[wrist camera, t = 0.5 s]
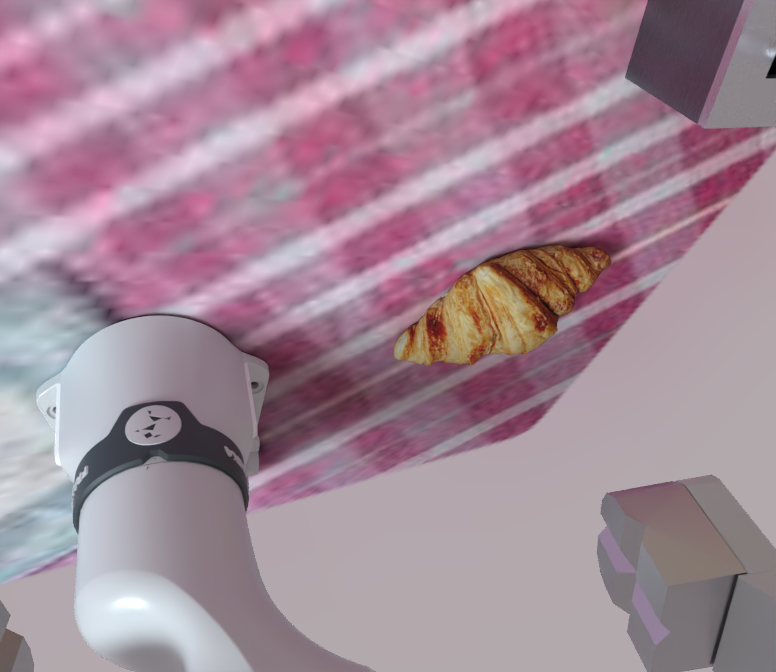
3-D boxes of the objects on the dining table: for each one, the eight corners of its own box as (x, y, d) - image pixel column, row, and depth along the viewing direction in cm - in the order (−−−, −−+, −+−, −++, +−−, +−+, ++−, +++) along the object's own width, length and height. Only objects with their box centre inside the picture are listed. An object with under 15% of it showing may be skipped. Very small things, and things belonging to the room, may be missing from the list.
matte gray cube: (720, 77, 56) (810, 125, 49) (625, 77, 54) (704, 128, 46) (790, -104, 48) (909, -79, 41) (682, -113, 46) (788, -88, 39)
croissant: (391, 340, 69) (424, 411, 66) (367, 309, 59) (405, 391, 57) (584, 243, 67) (627, 312, 65) (592, 196, 58) (642, 274, 55)
